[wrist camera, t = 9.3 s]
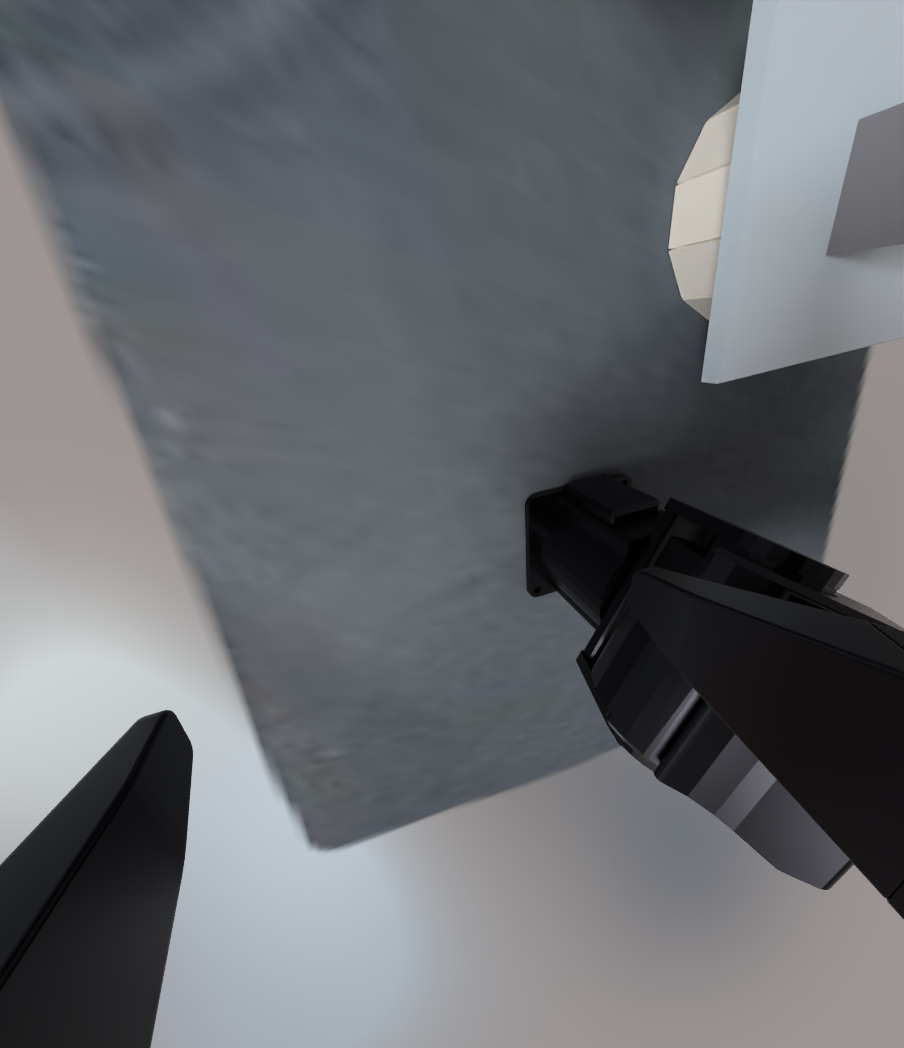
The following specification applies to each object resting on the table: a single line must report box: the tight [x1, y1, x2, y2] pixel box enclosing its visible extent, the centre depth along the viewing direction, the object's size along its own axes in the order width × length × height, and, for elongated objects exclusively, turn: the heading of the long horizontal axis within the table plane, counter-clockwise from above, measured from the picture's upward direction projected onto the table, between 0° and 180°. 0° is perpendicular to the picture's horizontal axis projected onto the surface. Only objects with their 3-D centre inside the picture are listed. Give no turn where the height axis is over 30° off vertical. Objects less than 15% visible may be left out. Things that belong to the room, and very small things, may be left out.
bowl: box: [668, 92, 741, 321], centre depth 18 cm, size 9×9×4 cm
